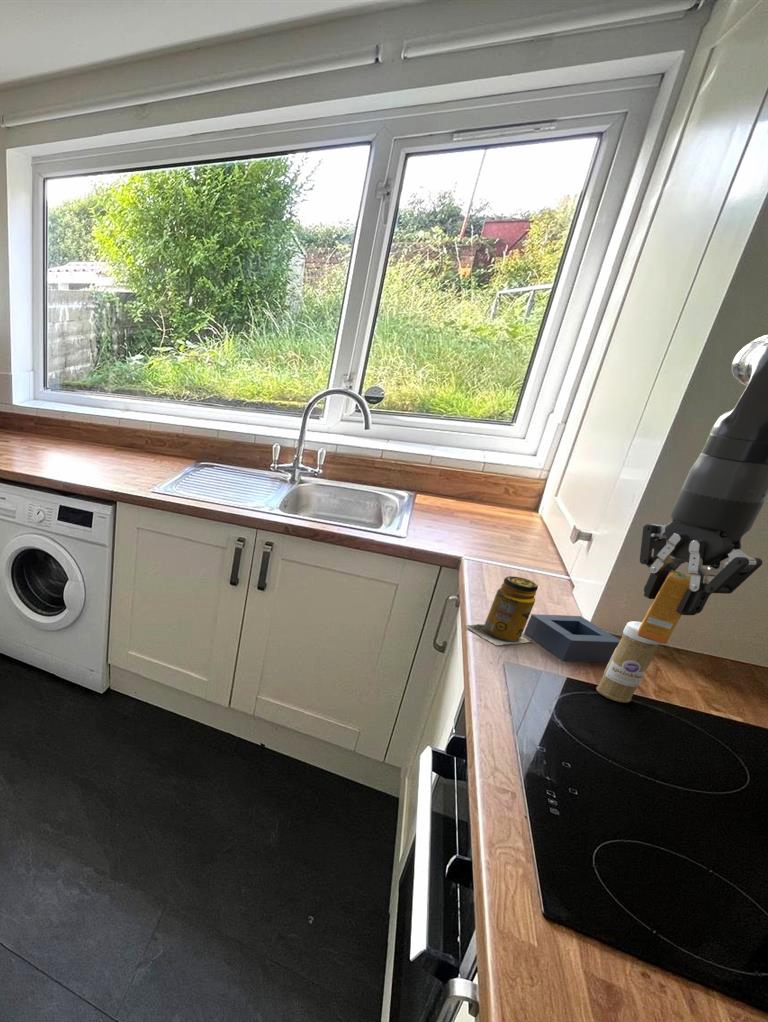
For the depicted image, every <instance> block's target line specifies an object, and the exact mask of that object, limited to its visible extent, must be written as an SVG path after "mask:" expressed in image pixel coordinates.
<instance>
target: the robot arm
mask: <svg viewBox="0 0 768 1022" xmlns="http://www.w3.org/2000/svg"><path fill="white" fill-rule="evenodd" d="M731 373H732V375H733V378H735V380H736V381H738V382H739V383H740V384H742V385H744V386H745V389H744V391H743V392H742V394H741V396H740V398H739V399H738V401H737V402H736V405H735V406H734V407H733V409H731V410H728V411H726V412H723V413H722V414H721V415H720V416H719V417H717V420H715V423H713V426H712V428H711V429H710V432H709V434H708V436H707V439H706V441H705V443H704V445H703V447H702V450H701V452H700V453H699V455H698V456H697V457H698V458H697V459H696V460H695V462H694V463H693V465H692V466H691V468H690V469H689V472H688V474H687V476H686V479H685V481H684V483H683V485H682V487H681V489H680V491H679V493H678V496H677V497H676V499H675V502H674V505H673V507H672V509H671V511H670V514H669V515H670V518H671V521H670V522H669V523H667V524H660V523H659V524H657V523H651V524H650V523H646V524H644V525H643V527H642V536H641V543H640V552H639V563H640V564H641V565H645V566H646V567H648V568H649V569H648V570H649V573H650V574H649V576H648V579H647V580H646V583H645V585H644V588H643V592H644V593H643V596H644V597H645V598H647V599H649V600H654V599H655V597H656V596H657V594H658V592H659V590H660V588H661V586H662V585H663V583H664V581H665V579H666V577H667V576H668V574H669V572H670V571H671V570H673V571H677V570H678V569H679V567H680V566H681V565H682V564H685V563H688V566H687V572H688V574H689V575H691V577H690V585H689V588H690V589H687V590H686V592H685V594H684V596H683V598H682V600H681V602H680V604H679V606H678V608H677V610H676V611H677V612H678V613H680V614H682V615H681V616H695V615H697V614H700V613H701V612H702V611H703V610H704V608H705V605H706V604H707V601H708V600H709V598H710V596H711V594H712V595H713V594H723V595H725V594H726V595H727V594H732V593H733V592H734V591H736V590H737V588H738V587H740V586H741V585H743V583H744V582H745V581H746V580H747V579H749V577H750V576H752V574H754V573H755V572H756V571H757V570H758V569H759V568H760V567H761V566H762V565H763V559H761V557H753V556H752V557H751V556H749V555H748V554H747V553H745V552H744V551H742V550H741V549H742V538H743V536H744V535H746V534H747V533H748V532H749V531H751V530H752V527H753V526H754V524H755V522H756V521H757V518H758V516H759V514H760V513H761V511H762V508H763V506H764V504H765V502H766V500H767V498H768V333H767V334H764V335H761V336H760V337H757V338H755V339H753V340H751V341H750V342H749V343H747V344H745V345H744V346H743V347H742V348H741V349H739V351H738V352H737V353H736V354H735V356H734V358H733V359H732V363H731ZM726 559H728V560H727V561H726ZM704 567H705V568H704Z"/></svg>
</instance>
